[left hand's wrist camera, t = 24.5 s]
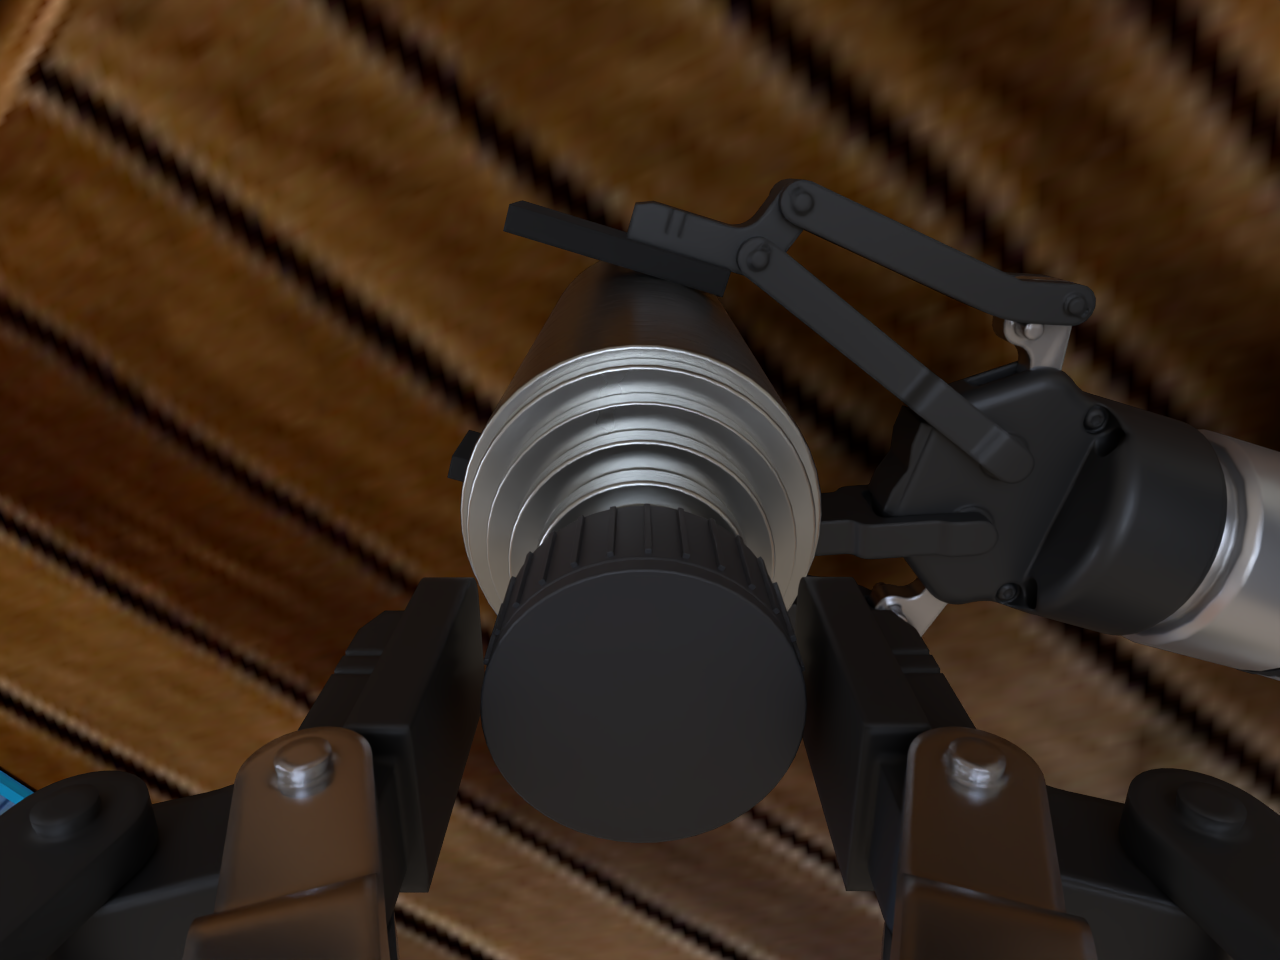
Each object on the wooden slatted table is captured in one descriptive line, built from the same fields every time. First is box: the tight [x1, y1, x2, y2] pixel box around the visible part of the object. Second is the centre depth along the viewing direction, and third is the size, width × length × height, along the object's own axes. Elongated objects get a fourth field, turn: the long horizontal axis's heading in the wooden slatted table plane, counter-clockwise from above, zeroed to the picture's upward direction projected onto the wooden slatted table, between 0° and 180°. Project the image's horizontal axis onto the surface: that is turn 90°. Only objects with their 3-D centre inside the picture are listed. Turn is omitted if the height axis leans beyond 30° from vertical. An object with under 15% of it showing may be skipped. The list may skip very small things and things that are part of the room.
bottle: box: [460, 261, 822, 615], centre depth 22 cm, size 7×7×22 cm
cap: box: [480, 504, 807, 843], centre depth 11 cm, size 4×4×2 cm
